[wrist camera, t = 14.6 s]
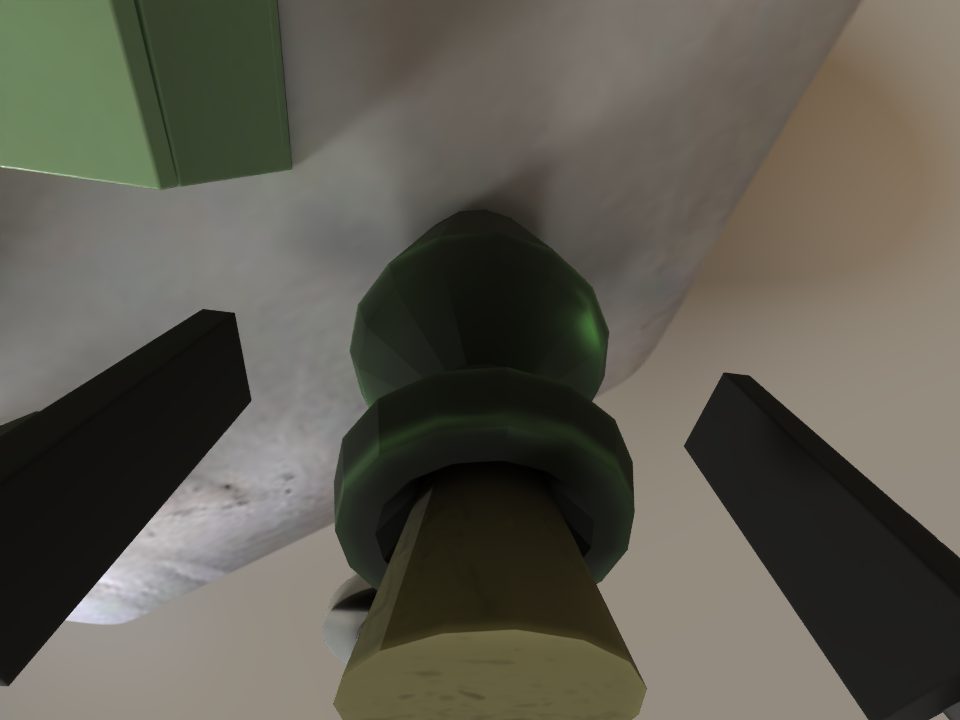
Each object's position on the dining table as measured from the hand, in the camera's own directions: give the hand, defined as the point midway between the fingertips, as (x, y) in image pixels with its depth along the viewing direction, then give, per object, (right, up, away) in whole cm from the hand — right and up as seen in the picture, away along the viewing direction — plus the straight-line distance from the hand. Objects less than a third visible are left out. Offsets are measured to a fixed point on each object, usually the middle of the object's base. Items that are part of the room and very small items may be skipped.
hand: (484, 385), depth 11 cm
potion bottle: (0, +5, +10) cm, 11 cm away
